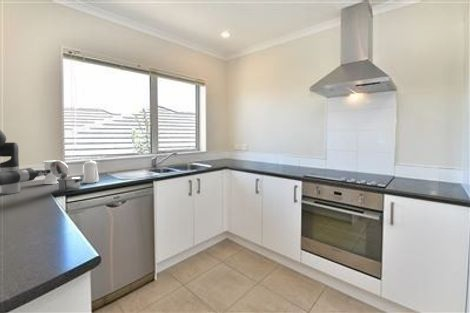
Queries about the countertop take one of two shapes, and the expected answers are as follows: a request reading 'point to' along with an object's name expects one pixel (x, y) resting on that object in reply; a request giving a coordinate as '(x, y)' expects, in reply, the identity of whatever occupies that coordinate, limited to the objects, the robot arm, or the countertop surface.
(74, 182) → the pot
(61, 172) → the lid
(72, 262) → the countertop surface
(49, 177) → the decorative container
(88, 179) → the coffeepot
